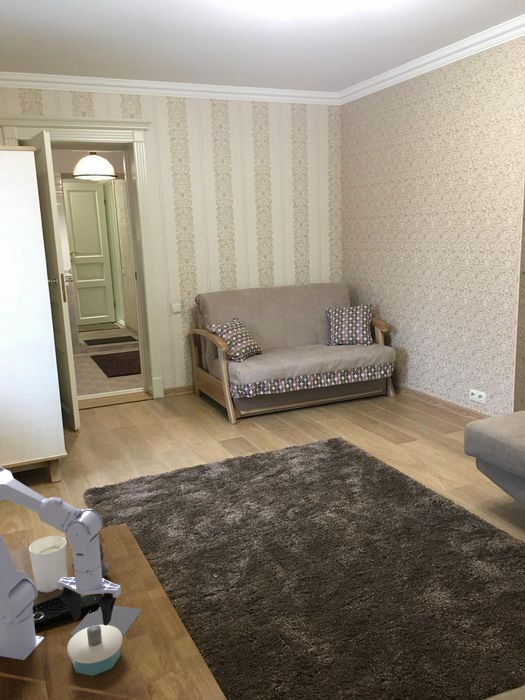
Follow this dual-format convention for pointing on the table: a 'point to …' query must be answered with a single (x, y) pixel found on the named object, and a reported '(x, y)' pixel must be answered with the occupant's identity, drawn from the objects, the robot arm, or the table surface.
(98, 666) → the bowl
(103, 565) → the salt shaker
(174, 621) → the table surface
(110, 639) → the lid
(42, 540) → the candle holder
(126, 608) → the mat
